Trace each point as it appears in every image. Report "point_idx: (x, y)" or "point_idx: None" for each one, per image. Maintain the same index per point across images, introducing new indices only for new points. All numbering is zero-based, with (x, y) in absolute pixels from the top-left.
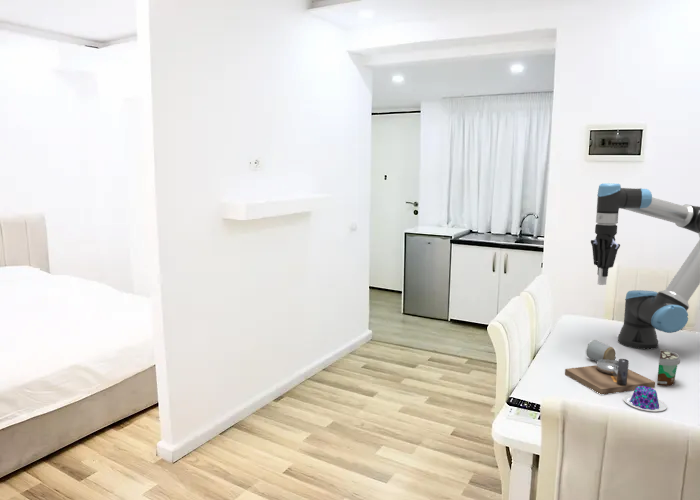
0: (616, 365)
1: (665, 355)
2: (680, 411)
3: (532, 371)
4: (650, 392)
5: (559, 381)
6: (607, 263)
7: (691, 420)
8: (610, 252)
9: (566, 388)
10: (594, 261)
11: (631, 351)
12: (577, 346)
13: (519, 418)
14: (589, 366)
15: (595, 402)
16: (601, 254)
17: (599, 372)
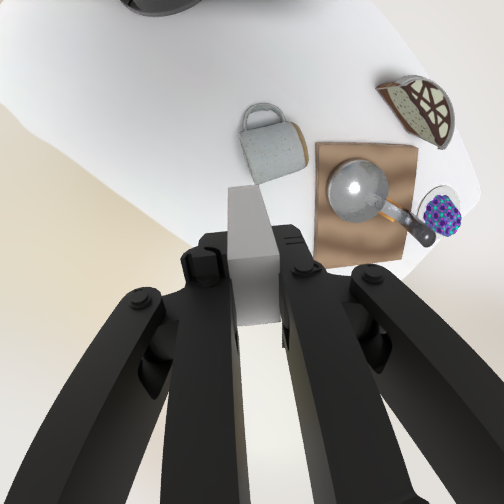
0: (368, 189)
1: (427, 105)
2: (466, 184)
3: None
4: (459, 226)
5: None
6: (377, 359)
7: (479, 192)
8: (460, 471)
9: None
10: (150, 374)
11: (219, 21)
12: (155, 139)
13: None
14: (320, 217)
15: (406, 274)
16: (246, 469)
17: None
